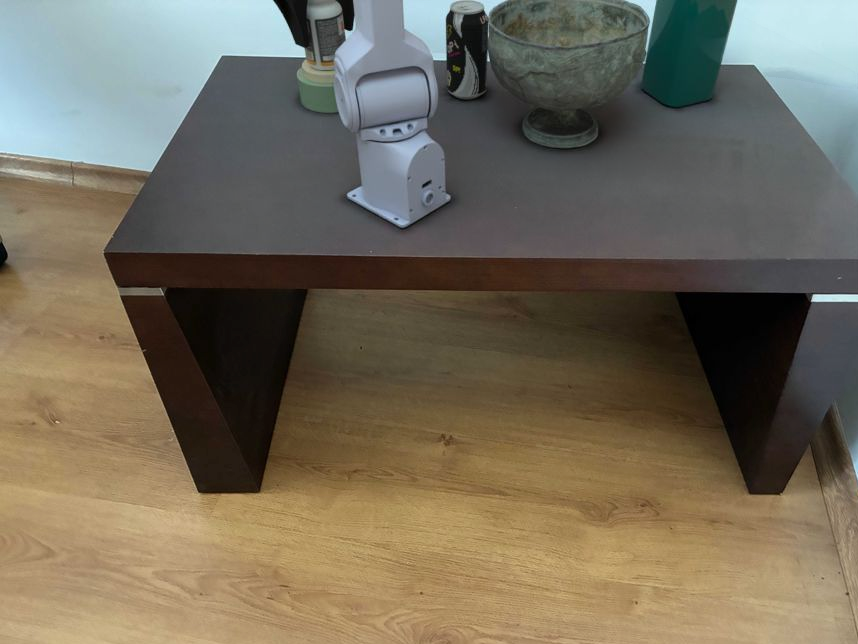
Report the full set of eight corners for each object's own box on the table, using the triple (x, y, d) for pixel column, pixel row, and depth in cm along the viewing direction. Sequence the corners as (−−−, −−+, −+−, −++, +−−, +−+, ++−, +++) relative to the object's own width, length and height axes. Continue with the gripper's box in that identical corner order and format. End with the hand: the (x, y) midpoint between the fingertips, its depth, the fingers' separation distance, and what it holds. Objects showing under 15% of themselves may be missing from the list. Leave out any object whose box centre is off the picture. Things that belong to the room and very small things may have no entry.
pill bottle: (352, 55, 99) (344, -21, 92) (343, 73, 95) (334, -6, 88) (312, 54, 100) (301, -23, 93) (301, 71, 96) (289, -8, 89)
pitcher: (634, 86, 104) (664, -85, 88) (682, 76, 107) (719, -93, 91) (675, 115, 98) (715, -65, 82) (724, 103, 100) (772, -73, 85)
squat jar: (377, 97, 101) (374, 62, 98) (329, 119, 97) (324, 83, 93) (336, 79, 106) (332, 45, 102) (287, 99, 101) (281, 64, 97)
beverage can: (439, 89, 103) (437, 2, 95) (474, 81, 105) (475, -5, 97) (459, 105, 100) (458, 16, 91) (494, 96, 102) (496, 8, 93)
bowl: (580, 86, 104) (593, -25, 94) (660, 145, 92) (686, 25, 81) (458, 113, 98) (457, -3, 87) (526, 180, 86) (535, 55, 75)
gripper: (333, -96, 91) (345, 14, 101) (239, -73, 84) (262, 44, 93) (370, -86, 88) (380, 27, 98) (276, -61, 80) (296, 59, 90)
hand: (324, 36), depth 95 cm, fingers open, 7 cm apart
